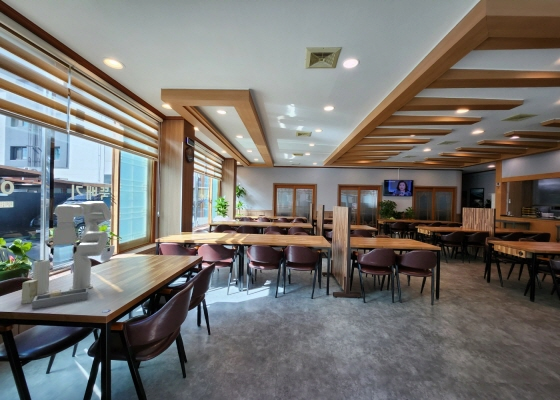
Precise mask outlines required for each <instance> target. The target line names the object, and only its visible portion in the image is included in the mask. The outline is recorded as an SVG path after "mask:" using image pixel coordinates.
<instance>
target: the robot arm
mask: <svg viewBox="0 0 560 400" xmlns="http://www.w3.org/2000/svg"><path fill="white" fill-rule="evenodd" d="M54 215H55V216H56V217H57V218H56V219H57V220H56V221H57V222H56V227H55V228H54V230H53V237H51V238H49V239H46V240H44V244H45V245H46V247H48V248H49V249H50V253H49V254H51V256H54V254H55V248H54V247H55V246H59V245H73V247H72V249H71V250H72V256H73V272H72V273H73V274H72V286H71V287H69V291H70V290H77V289H83V288H88V290H89V289H91V288H93V287H94V285H93V283H91V279H92V278H91V275H92V261H91V259H90V258H89V257H98V256H101V255H102V254H103V253H104V250H105V248H106V245H107V243H108V239H109V236H108V232H106V231H104V230H100V227H99V225H98V224H97V223H96V222H108V221H110V220H111V219H112V212H111V211H110V208H109V206H108V205H107V203H106V202H105V201H85V202H84V201H83V202H75V203H66V204H58V205H57V206H56V207H55V209H54ZM82 216H83V220H84V224H85V228H84V231H83V232H82V235H81V236H80V237H77V235H76V228H75V227H77V225H78V223H76V222H75V223H74V221H75V218H80V217H82ZM76 240H78V242H77V243H76ZM51 241H52V245H51V244H50V242H51Z"/></svg>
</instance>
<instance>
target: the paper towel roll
mask: <svg viewBox="0 0 560 400" xmlns="http://www.w3.org/2000/svg"><path fill="white" fill-rule="evenodd" d="M50 267H51V260H50V259H47V260H46V259H44V260H43V259H42V260H41V259H40V260H35V261H33V267H32V268H33V271H32V280H38V290H37V296H39V295H44V294H47V292H49V289H50V272H51V271H50Z"/></svg>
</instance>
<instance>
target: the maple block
mask: <svg viewBox="0 0 560 400" xmlns="http://www.w3.org/2000/svg"><path fill="white" fill-rule="evenodd" d="M61 292H62V290H61V289H57V290H53V291H52V290H51V291H50V293H49V294H50V298H52V297H58V296H61Z"/></svg>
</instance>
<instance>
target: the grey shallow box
mask: <svg viewBox="0 0 560 400" xmlns="http://www.w3.org/2000/svg"><path fill="white" fill-rule="evenodd" d="M88 299H89V289H88V288H83V289H77V290H70V289H69V290H65V291H61V296H58V297H52V298H50V293H44V294H40V295H37V296H35V298H34V300H33V302H32V307H31V309H32V310H35V309H39V308H40V309H41V308H42V309H43V308H47V307H52V306H57V305H62V304H69V303H73V302H74V303H76V302H80V301H85V300H88Z"/></svg>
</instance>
